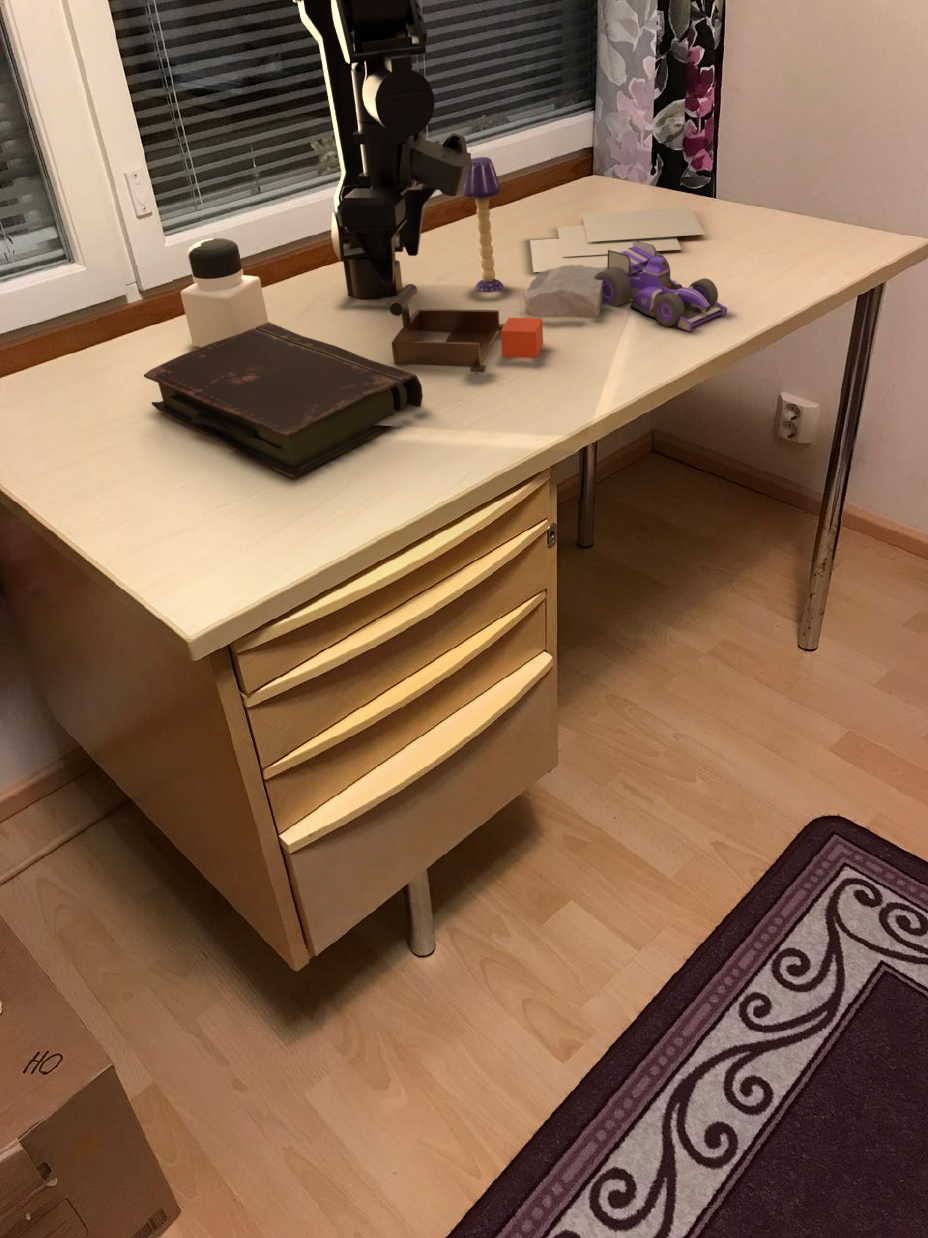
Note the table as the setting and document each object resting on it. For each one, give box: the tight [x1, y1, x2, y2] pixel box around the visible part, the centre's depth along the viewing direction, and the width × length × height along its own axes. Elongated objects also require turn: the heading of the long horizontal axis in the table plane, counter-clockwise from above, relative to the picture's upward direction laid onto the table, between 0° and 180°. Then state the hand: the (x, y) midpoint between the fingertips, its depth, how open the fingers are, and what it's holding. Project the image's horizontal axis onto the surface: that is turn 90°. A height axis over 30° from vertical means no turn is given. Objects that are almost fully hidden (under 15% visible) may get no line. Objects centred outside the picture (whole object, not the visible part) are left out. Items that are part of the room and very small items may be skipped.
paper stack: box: [529, 205, 706, 273], centre depth 146 cm, size 23×25×1 cm
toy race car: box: [594, 240, 728, 332], centre depth 122 cm, size 10×15×6 cm, turn 40°
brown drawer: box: [389, 283, 501, 368], centre depth 116 cm, size 11×10×7 cm
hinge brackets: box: [469, 323, 505, 375], centre depth 116 cm, size 2×14×1 cm, turn 166°
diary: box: [143, 321, 424, 479], centre depth 107 cm, size 19×25×5 cm
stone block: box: [524, 265, 607, 319], centre depth 126 cm, size 12×5×10 cm
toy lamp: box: [462, 156, 505, 293], centre depth 128 cm, size 5×5×17 cm
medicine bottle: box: [180, 237, 269, 348], centre depth 123 cm, size 7×7×12 cm
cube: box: [500, 317, 544, 359], centre depth 115 cm, size 4×4×4 cm
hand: (401, 268), depth 113 cm, fingers open, 9 cm apart
